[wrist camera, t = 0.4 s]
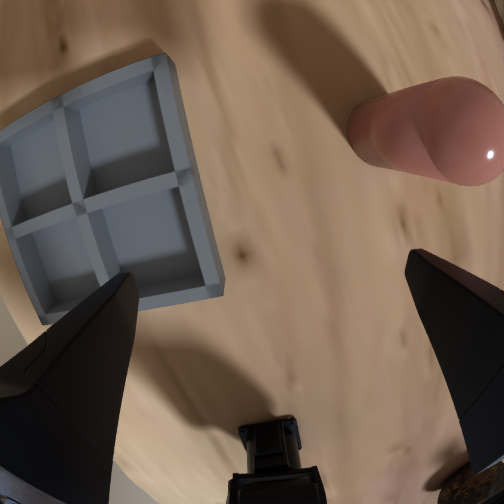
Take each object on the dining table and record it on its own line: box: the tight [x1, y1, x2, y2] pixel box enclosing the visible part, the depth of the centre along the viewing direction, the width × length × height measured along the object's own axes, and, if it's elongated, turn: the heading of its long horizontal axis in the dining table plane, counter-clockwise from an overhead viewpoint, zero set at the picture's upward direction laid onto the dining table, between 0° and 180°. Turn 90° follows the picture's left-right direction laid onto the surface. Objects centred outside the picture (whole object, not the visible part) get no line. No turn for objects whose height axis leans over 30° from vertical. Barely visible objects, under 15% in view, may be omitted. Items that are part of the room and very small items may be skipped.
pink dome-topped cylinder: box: [348, 76, 504, 186], centre depth 15 cm, size 5×5×13 cm
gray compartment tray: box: [0, 53, 225, 325], centre depth 20 cm, size 17×17×3 cm
